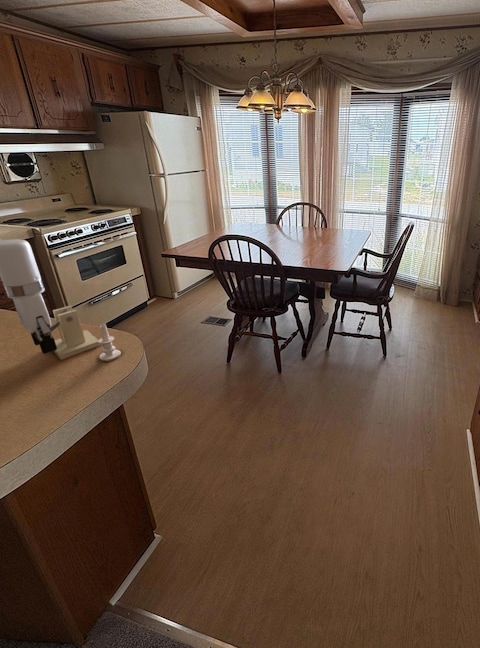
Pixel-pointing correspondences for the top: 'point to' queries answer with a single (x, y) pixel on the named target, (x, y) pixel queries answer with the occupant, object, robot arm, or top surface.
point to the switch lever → (52, 325)
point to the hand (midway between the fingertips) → (45, 346)
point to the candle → (107, 345)
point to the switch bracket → (72, 334)
